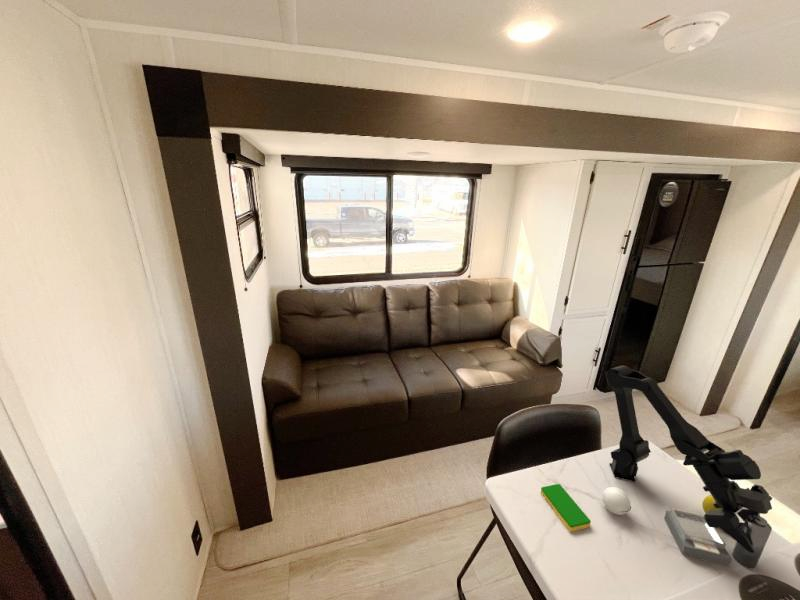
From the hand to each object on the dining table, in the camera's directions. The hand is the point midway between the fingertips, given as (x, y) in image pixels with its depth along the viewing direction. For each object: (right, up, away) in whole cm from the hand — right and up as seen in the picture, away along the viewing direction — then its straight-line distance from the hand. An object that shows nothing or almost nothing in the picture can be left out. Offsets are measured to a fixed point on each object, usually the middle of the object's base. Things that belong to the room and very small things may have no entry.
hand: (758, 546), depth 81 cm
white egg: (-25, -2, +17) cm, 30 cm away
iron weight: (-1, -6, +3) cm, 7 cm away
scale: (-9, -5, +8) cm, 13 cm away
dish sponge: (-41, -2, +18) cm, 45 cm away
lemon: (+2, -3, +15) cm, 15 cm away
